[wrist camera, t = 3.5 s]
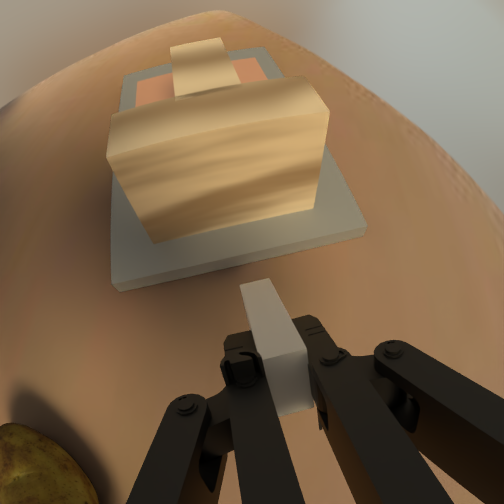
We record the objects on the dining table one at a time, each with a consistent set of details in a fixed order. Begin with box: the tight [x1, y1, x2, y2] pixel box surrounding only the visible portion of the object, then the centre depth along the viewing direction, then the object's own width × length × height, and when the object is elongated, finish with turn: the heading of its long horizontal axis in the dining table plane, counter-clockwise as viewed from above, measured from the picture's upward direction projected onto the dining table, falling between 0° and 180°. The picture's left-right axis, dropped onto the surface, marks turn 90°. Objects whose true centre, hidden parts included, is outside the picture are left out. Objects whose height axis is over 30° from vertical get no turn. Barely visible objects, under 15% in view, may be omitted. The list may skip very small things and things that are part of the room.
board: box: [111, 47, 368, 292], centre depth 30 cm, size 30×19×2 cm, turn 13°
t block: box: [106, 38, 330, 244], centre depth 22 cm, size 12×12×9 cm
